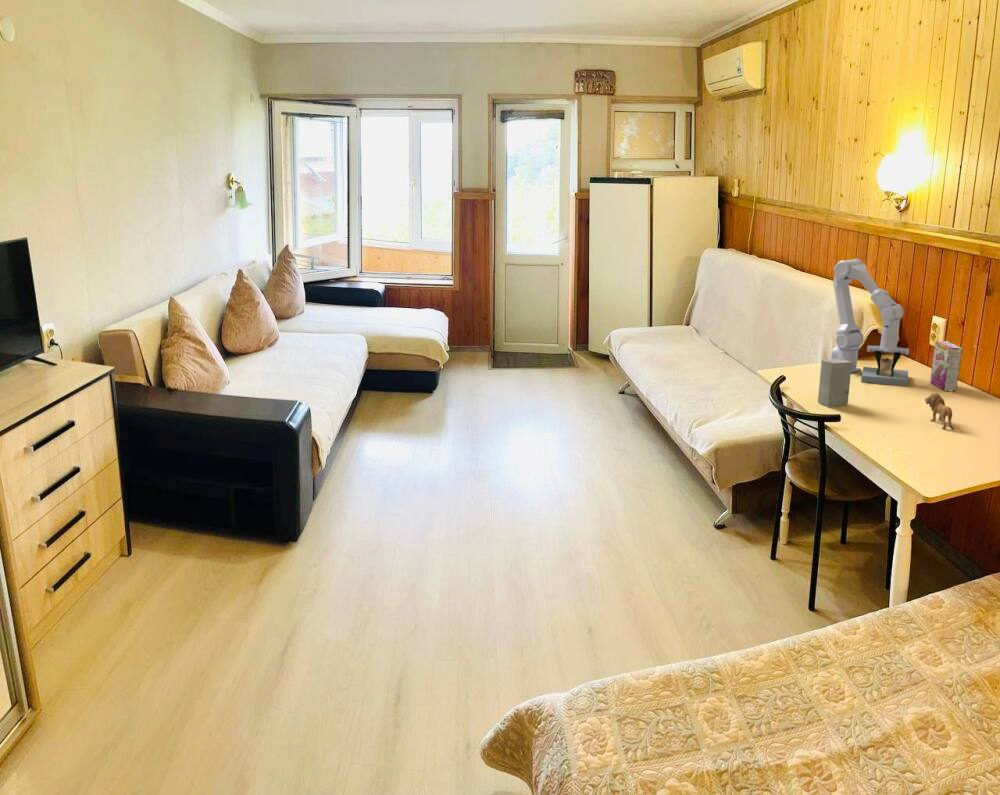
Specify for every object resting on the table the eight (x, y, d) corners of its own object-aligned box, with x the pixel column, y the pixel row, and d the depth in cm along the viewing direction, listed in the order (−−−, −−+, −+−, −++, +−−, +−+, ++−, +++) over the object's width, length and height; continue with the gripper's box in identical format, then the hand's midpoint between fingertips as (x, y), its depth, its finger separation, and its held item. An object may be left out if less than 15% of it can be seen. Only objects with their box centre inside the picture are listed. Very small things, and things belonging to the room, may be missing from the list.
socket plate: (861, 382, 319) (861, 375, 318) (862, 372, 331) (863, 366, 330) (907, 386, 312) (908, 379, 311) (907, 376, 324) (908, 370, 323)
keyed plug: (878, 379, 319) (880, 360, 317) (879, 375, 324) (881, 357, 322) (890, 380, 317) (892, 361, 315) (890, 376, 323) (892, 357, 320)
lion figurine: (920, 417, 278) (923, 391, 275) (935, 416, 279) (938, 390, 276) (946, 431, 264) (950, 404, 261) (962, 431, 265) (966, 404, 262)
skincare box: (828, 407, 290) (832, 363, 285) (815, 402, 296) (819, 358, 291) (849, 405, 292) (854, 361, 287) (836, 399, 298) (840, 356, 294)
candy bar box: (928, 383, 316) (934, 340, 311) (942, 382, 315) (948, 340, 311) (943, 391, 305) (949, 348, 300) (957, 391, 305) (963, 347, 300)
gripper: (868, 337, 316) (864, 371, 320) (910, 340, 310) (906, 375, 314) (869, 333, 322) (865, 367, 326) (910, 336, 316) (906, 370, 320)
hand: (885, 370), depth 320 cm, fingers closed on keyed plug, 4 cm apart
